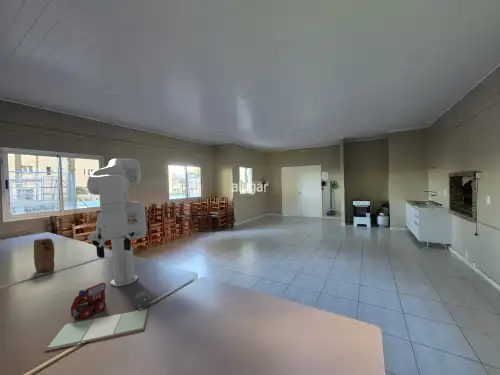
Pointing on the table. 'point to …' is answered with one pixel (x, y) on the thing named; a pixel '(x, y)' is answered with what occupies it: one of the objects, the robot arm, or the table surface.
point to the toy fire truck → (89, 301)
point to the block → (44, 255)
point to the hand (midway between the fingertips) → (114, 253)
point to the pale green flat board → (101, 328)
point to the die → (142, 299)
